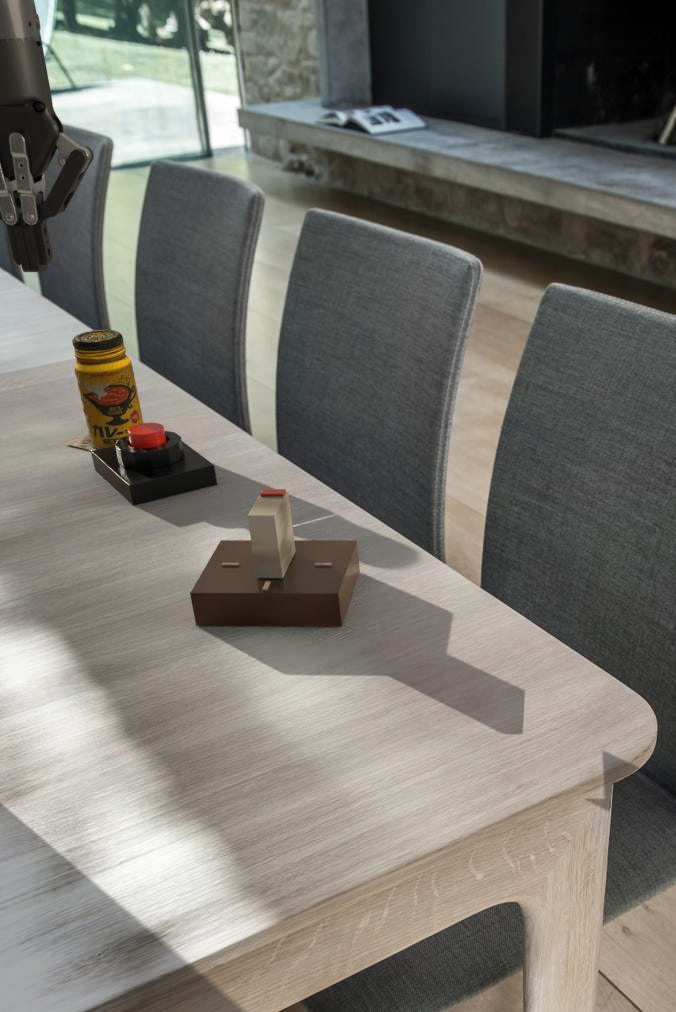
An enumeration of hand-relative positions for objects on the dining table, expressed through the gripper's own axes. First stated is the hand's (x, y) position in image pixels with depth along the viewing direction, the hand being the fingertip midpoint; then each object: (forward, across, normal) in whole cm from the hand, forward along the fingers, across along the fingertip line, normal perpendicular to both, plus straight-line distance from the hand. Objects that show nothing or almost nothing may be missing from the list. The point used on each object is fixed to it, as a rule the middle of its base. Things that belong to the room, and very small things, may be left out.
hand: (36, 270), depth 97 cm
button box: (+24, +3, +13) cm, 27 cm away
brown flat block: (+23, +21, -15) cm, 35 cm away
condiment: (+24, -4, +24) cm, 34 cm away
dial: (+20, +21, -15) cm, 33 cm away
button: (+20, +3, +13) cm, 24 cm away
